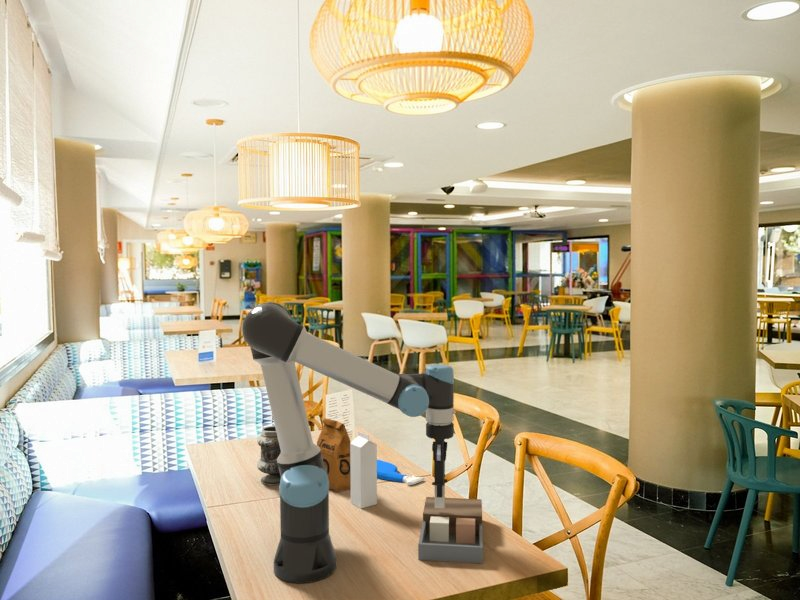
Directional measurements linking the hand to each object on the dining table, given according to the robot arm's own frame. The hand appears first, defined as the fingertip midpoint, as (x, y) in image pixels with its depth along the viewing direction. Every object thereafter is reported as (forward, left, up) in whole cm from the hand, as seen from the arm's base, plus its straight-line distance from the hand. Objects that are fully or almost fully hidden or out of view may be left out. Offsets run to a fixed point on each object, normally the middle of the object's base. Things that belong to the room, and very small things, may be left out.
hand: (439, 507), depth 165 cm
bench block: (+5, -4, -7) cm, 9 cm away
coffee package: (+33, +36, -8) cm, 49 cm away
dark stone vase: (+36, +58, -8) cm, 69 cm away
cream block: (-2, 0, -4) cm, 5 cm away
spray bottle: (+44, +20, -8) cm, 49 cm away
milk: (+19, +24, -8) cm, 32 cm away
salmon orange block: (-2, -7, -4) cm, 9 cm away
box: (-8, -4, -7) cm, 12 cm away
